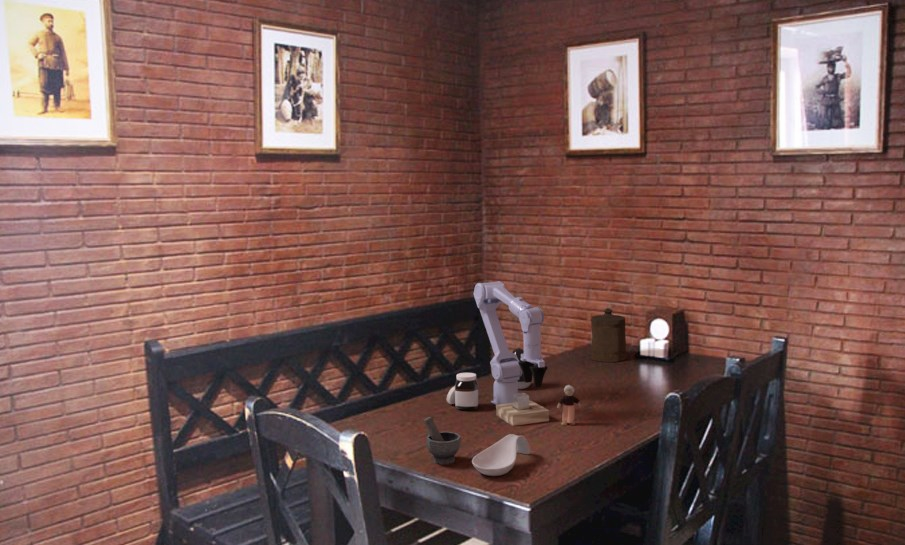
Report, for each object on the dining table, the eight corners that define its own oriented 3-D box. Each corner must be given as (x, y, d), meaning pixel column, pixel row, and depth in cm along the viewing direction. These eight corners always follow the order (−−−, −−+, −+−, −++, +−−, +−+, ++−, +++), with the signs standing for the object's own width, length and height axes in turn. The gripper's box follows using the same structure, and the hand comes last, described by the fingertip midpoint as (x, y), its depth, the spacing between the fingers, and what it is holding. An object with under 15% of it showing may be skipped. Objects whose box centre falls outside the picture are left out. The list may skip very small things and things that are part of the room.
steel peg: (513, 417, 267) (512, 393, 266) (524, 415, 268) (523, 392, 267) (518, 420, 263) (517, 396, 262) (529, 419, 264) (529, 395, 264)
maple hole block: (496, 415, 270) (496, 405, 269) (531, 410, 274) (531, 400, 274) (512, 425, 257) (512, 415, 257) (549, 420, 262) (549, 410, 262)
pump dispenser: (532, 384, 310) (532, 345, 308) (532, 391, 299) (532, 351, 298) (506, 384, 311) (505, 345, 309) (505, 391, 300) (504, 351, 299)
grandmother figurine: (560, 426, 256) (560, 387, 254) (556, 423, 259) (555, 384, 258) (583, 424, 258) (583, 385, 256) (578, 420, 261) (577, 382, 260)
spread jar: (475, 412, 274) (474, 378, 273) (442, 411, 276) (442, 377, 275) (481, 402, 286) (480, 370, 284) (450, 401, 288) (449, 369, 286)
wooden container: (606, 353, 361) (605, 304, 358) (632, 358, 349) (632, 308, 347) (583, 358, 351) (583, 308, 349) (610, 364, 340) (610, 312, 338)
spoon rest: (503, 484, 209) (503, 457, 208) (464, 476, 215) (463, 450, 214) (541, 456, 229) (541, 432, 229) (504, 450, 235) (504, 426, 235)
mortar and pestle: (467, 458, 228) (466, 417, 227) (449, 468, 220) (448, 426, 219) (434, 452, 234) (433, 411, 233) (416, 461, 226) (414, 420, 225)
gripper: (512, 341, 272) (513, 381, 273) (530, 349, 258) (531, 390, 260) (531, 339, 274) (532, 379, 275) (550, 347, 261) (551, 388, 262)
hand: (533, 384), depth 268 cm, fingers open, 7 cm apart
